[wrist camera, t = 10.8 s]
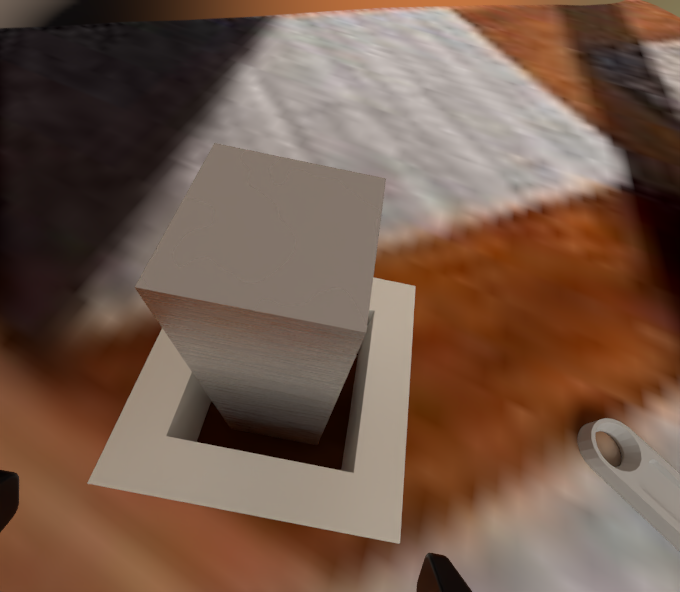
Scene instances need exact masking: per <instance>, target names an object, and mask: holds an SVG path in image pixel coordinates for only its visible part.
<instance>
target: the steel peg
mask: <svg viewBox="0 0 680 592" xmlns="http://www.w3.org/2000/svg"><path fill="white" fill-rule="evenodd" d="M385 182H386V179H385V178H380V177H375V176H370V175H365V174H361V173H356V172H351V171H346V170H341V169H336V168H332V167H327V166H322V165H317V164H312V163H308V162H303V161H298V160H293V159H288V158H283V157H279V156H274V155H269V154H264V153H259V152H254V151H250V150H245V149H240V148H235V147H230V146H226V145H221V144H216V143H214V145H213V147H212V149H211V151H210V152H209V154H208V156H207V158H206V160H205V161H204V163H203V165H202V167H201V169H200V170H199V172H198V174H197V176H196V178H195V179H194V181H193V183H192V185H191V187H190V188H189V190H188V192H187V194H186V196H185V197H184V199H183V201H182V203H181V205H180V206H179V208H178V210H177V212H176V214H175V215H174V217H173V219H172V221H171V223H170V224H169V226H168V228H167V230H166V232H165V233H164V235H163V237H162V239H161V241H160V242H159V244H158V246H157V248H156V250H155V251H154V253H153V255H152V257H151V259H150V261H149V262H148V264H147V266H146V268H145V270H144V271H143V273H142V275H141V277H140V279H139V280H138V282H137V284H136V286H135V288H136V290H137V291H138V293H139V294H140V296H141V297H142V299H143V300H144V302H145V303H146V305H147V306H148V308H149V309H150V311H151V312H152V313H153V315H154V316H155V318H156V319H157V321H158V322H159V324H160V325H161V327H162V328H163V330H164V331H165V333H166V334H167V336H168V337H169V339H170V340H171V342H172V343H173V345H174V346H175V347H176V349H177V350H178V352H179V353H180V355H181V356H182V358H183V359H184V361H185V362H186V364H187V365H188V367H189V368H190V370H191V371H192V373H193V374H194V376H195V377H196V378H197V380H198V381H199V383H200V384H201V386H202V387H203V389H204V390H205V392H206V393H207V395H208V396H209V398H210V399H211V401H212V402H213V404H214V405H215V407H216V408H217V410H218V411H219V412H220V414H221V415H222V417H223V418H224V420H225V421H226V423H227V424H228V426H229V427H230V429H233V430H238V431H244V432H249V433H254V434H260V435H265V436H270V437H276V438H281V439H286V440H292V441H297V442H302V443H308V444H313V445H318V443H319V440H320V438H321V436H322V433H323V431H324V429H325V427H326V424H327V422H328V420H329V417H330V415H331V413H332V410H333V408H334V406H335V403H336V401H337V399H338V397H339V394H340V392H341V390H342V387H343V385H344V383H345V380H346V378H347V376H348V374H349V371H350V369H351V367H352V364H353V362H354V360H355V357H356V355H357V353H358V350H359V348H360V346H361V344H362V341H363V339H364V337H365V334H366V331H367V323H368V315H369V307H370V299H371V291H372V284H373V276H374V268H375V260H376V252H377V244H378V237H379V229H380V221H381V213H382V205H383V197H384V189H385Z"/></svg>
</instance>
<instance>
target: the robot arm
mask: <svg viewBox="0 0 680 592" xmlns="http://www.w3.org/2000/svg"><path fill="white" fill-rule="evenodd" d="M18 505H19V476H18V475H17V473H14V472H9V471H4V470H0V532H1V531H2V530H3V529H4V527H5V526H6V525H7V524H8V523H9V521H10V520H11V519H12V517H13V516H14V514H15V513H16V511H17V509H18ZM417 592H472V591H471V589H470V588H469V587H468V585H467V584H466V582H465V581H464V580H463V578H462V577H461V575H460V574H459V573H458V571H457V570H456V569H455V567H454V566H453V564H452V563H451V562H450V560H449V559H448V558H447V557H446V556H444V555H439V554H434V553H428V554H427V555H426V557H425V559H424V563H423V566H422V569H421V572H420V575H419V578H418V582H417Z"/></svg>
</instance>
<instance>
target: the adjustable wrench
mask: <svg viewBox="0 0 680 592" xmlns="http://www.w3.org/2000/svg"><path fill="white" fill-rule="evenodd" d="M598 431H603V432H605V433H607V434H608V435H609V436H611V437H612V438H613V439H614V441H615V442H616V443H617V445H618V446H619V448H620V451H621V454H622V461H621V464H620V466H617V467H614V466H612V465H611V464H609V463H608V462H607V461H606V459H605V458H604V457H603V456H602V454H601V453H600V451H599V449H598V447H597V444H596V440H595V433H596V432H598ZM578 446H579V450H580V453H581V455H582V456H583V458H584V460H585V461H586V463H587V464H588V465H589V466H590V467H591V468H592V469H593V470H594V471H595V472H596V473H597V474H598V475H599V476H600V477H601V478H602V479H603V480H604V481H605V482H606V483H607V484H608V485H610V486H611V487H612V488H613V489H614V490H615V491H616V492H617V493H618V494H619V495H620V496H621V497H622V498H623V499H624V500H625V501H626V502H627V503H628V504H630V505H631V506H632V507H633V508H634V509H635V510H636V511H637V512H638V513H639V514H640V515H641V516H642V517H643V518H644V519H645V520H646V521H647V522H649V523H650V524H651V525H652V526H653V527H654V528H655V529H656V530H657V531H658V532H659V533H660V534H661V535H662V536H663V537H664V538H665V539H666V540H667V541H669V542H670V543H671V544H672V545H673V546H674V547H675V548H676V549H677V550H678V551H679V552H680V473H679V472H678V471H677V470H675V469H674V468H673V467H672V466H671V465H670V464H669V463H668V462H667V461H665V460H664V459H663V458H662V457H661V456H660V455H659V454H658V453H657V452H655V451H654V450H653V449H652V448H651V447H650V446H649V445H648V444H647V443H645V442H644V441H643V440H642V439H641V438H640V437H639V436H638V435H637V434H635V433H634V432H633V431H632V430H631V429H630V428H629V427H627V426H626V425H624V424H623V423H622V422H619V421H617V420H614V419H609V418H604V419H600V420H597V421H594V422H591V423H588V424H585V425H584V426H583V427H582V428H580V431H579V433H578Z"/></svg>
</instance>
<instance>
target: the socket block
mask: <svg viewBox="0 0 680 592" xmlns="http://www.w3.org/2000/svg"><path fill="white" fill-rule="evenodd" d="M414 303H415V286H412V285H407V284H402V283H398V282H393V281H388V280H383V279H378V278H374V277H373V284H372V291H371V299H370V307H369V315H368V323H367V331H366V334H365V337H364V339H363V341H362V344H361V346H360V348H359V352H358V359H357V365H356V372H355V379H354V386H353V393H352V400H351V407H350V413H349V420H348V427H347V434H346V441H345V448H344V454H343V461H342V468H341V470H336V469H331V468H326V467H321V466H316V465H311V464H306V463H301V462H296V461H291V460H286V459H280V458H275V457H270V456H265V455H260V454H255V453H250V452H245V451H240V450H235V449H230V448H224V447H219V446H214V445H209V444H204V443H199V442H197V440H198V437H199V434H200V431H201V428H202V426H203V423H204V420H205V417H206V414H207V412H208V409H209V406H210V403H211V399H210V398H209V396H208V395H207V393H206V392H205V390H204V389H203V387H202V386H201V384H200V383H199V381H198V380H197V378H196V377H195V376H194V374H193V373H192V371H191V370H190V368H189V367H188V365H187V364H186V362H185V361H184V359H183V358H182V356H181V355H180V353H179V352H178V350H177V349H176V347H175V346H174V345H173V343H172V342H171V340H170V339H169V337H168V336H167V334H166V333H165V331H164V330H163V328H162V329H161V332H160V334H159V336H158V338H157V340H156V342H155V344H154V346H153V348H152V350H151V352H150V354H149V356H148V359H147V361H146V363H145V365H144V367H143V369H142V371H141V373H140V375H139V377H138V379H137V381H136V383H135V385H134V388H133V390H132V392H131V394H130V396H129V398H128V400H127V402H126V404H125V406H124V408H123V410H122V412H121V414H120V417H119V419H118V421H117V423H116V425H115V427H114V429H113V431H112V433H111V435H110V437H109V439H108V441H107V443H106V446H105V448H104V450H103V452H102V454H101V456H100V458H99V460H98V462H97V464H96V466H95V468H94V470H93V472H92V475H91V477H90V479H89V481H88V483H87V484H93V485H98V486H103V487H108V488H113V489H118V490H124V491H129V492H134V493H139V494H144V495H150V496H155V497H160V498H165V499H170V500H175V501H181V502H186V503H191V504H196V505H201V506H206V507H212V508H217V509H222V510H227V511H232V512H238V513H243V514H248V515H253V516H258V517H263V518H269V519H274V520H279V521H284V522H289V523H295V524H300V525H305V526H310V527H315V528H320V529H326V530H331V531H336V532H341V533H346V534H352V535H357V536H362V537H367V538H372V539H377V540H383V541H388V542H393V543H398V544H400V535H401V519H402V502H403V486H404V469H405V452H406V436H407V419H408V403H409V386H410V369H411V353H412V336H413V320H414Z"/></svg>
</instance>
